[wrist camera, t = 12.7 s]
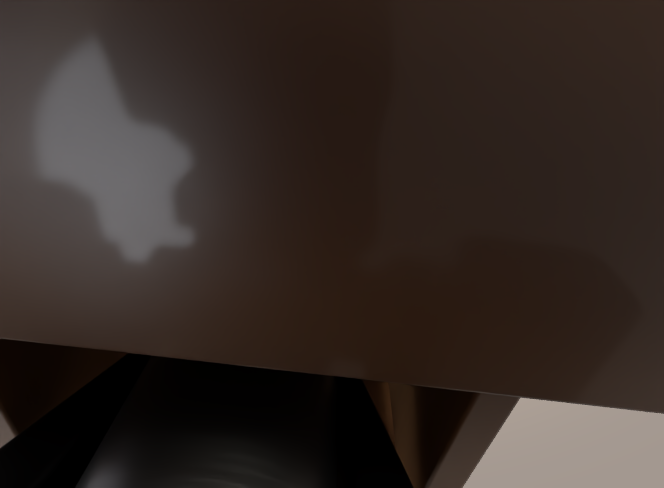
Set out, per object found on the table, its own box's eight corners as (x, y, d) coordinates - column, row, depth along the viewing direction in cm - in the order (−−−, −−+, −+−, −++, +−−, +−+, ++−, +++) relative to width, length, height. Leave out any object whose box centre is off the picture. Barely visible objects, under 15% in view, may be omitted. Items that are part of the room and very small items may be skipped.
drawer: (382, 403, 19) (402, 625, 12) (164, 379, 19) (57, 594, 12) (527, -38, 9) (1042, -187, 2) (77, -109, 9) (-867, -542, 2)
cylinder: (365, 349, 11) (386, 698, 5) (243, 389, 12) (155, 708, 6) (288, 233, 9) (189, 599, 3) (150, 295, 10) (-91, 640, 4)
